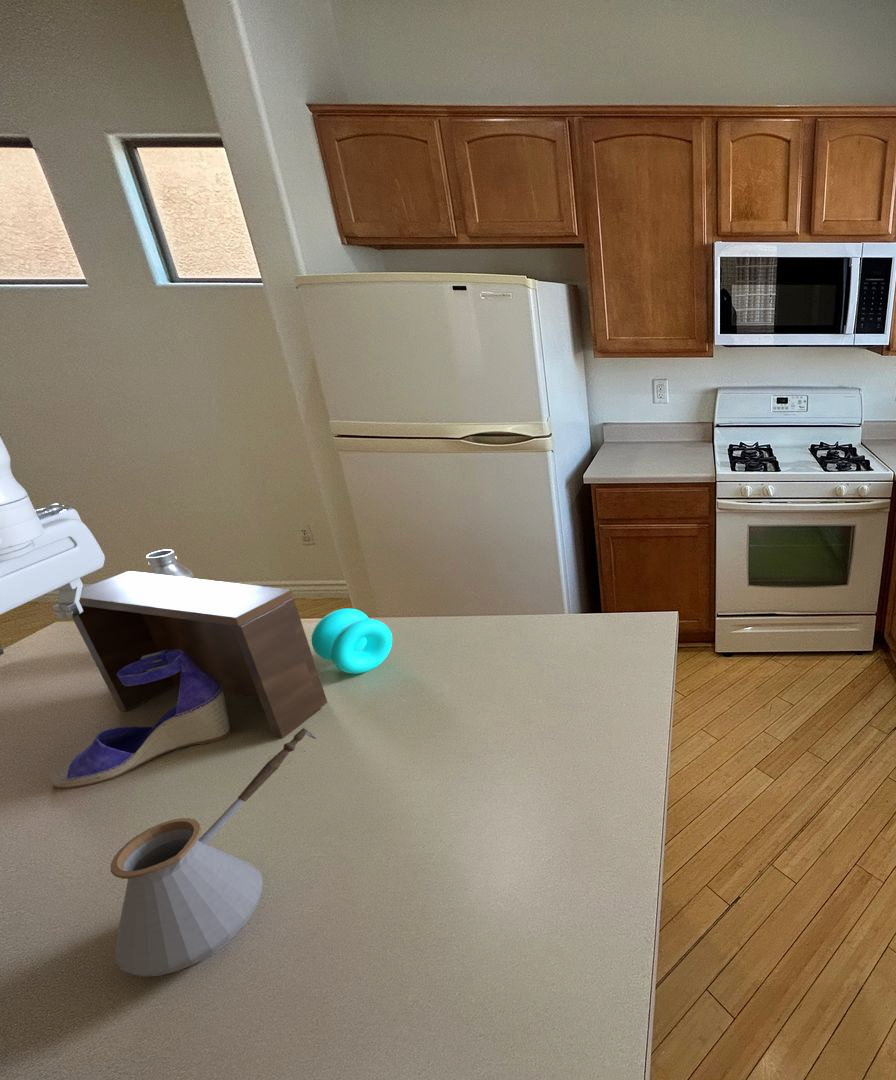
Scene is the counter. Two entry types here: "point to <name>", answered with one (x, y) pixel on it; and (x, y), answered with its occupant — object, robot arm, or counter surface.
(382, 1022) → the counter surface
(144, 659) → the sandal
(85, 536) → the robot arm
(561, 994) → the counter surface
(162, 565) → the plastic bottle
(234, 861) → the coffee pot
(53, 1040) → the counter surface
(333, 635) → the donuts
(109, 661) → the shoe rack
